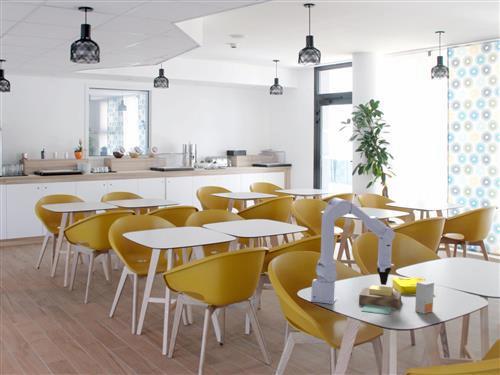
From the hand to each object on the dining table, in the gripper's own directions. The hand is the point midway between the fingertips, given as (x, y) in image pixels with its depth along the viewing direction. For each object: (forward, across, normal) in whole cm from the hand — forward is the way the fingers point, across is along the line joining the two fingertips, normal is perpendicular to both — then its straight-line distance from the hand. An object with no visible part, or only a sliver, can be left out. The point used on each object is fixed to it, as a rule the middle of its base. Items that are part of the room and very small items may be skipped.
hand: (383, 284), depth 242 cm
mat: (+6, -20, 0) cm, 20 cm away
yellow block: (+2, -8, 0) cm, 8 cm away
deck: (+6, -9, 0) cm, 11 cm away
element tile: (+6, +17, -11) cm, 21 cm away
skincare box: (+6, -14, -18) cm, 23 cm away
